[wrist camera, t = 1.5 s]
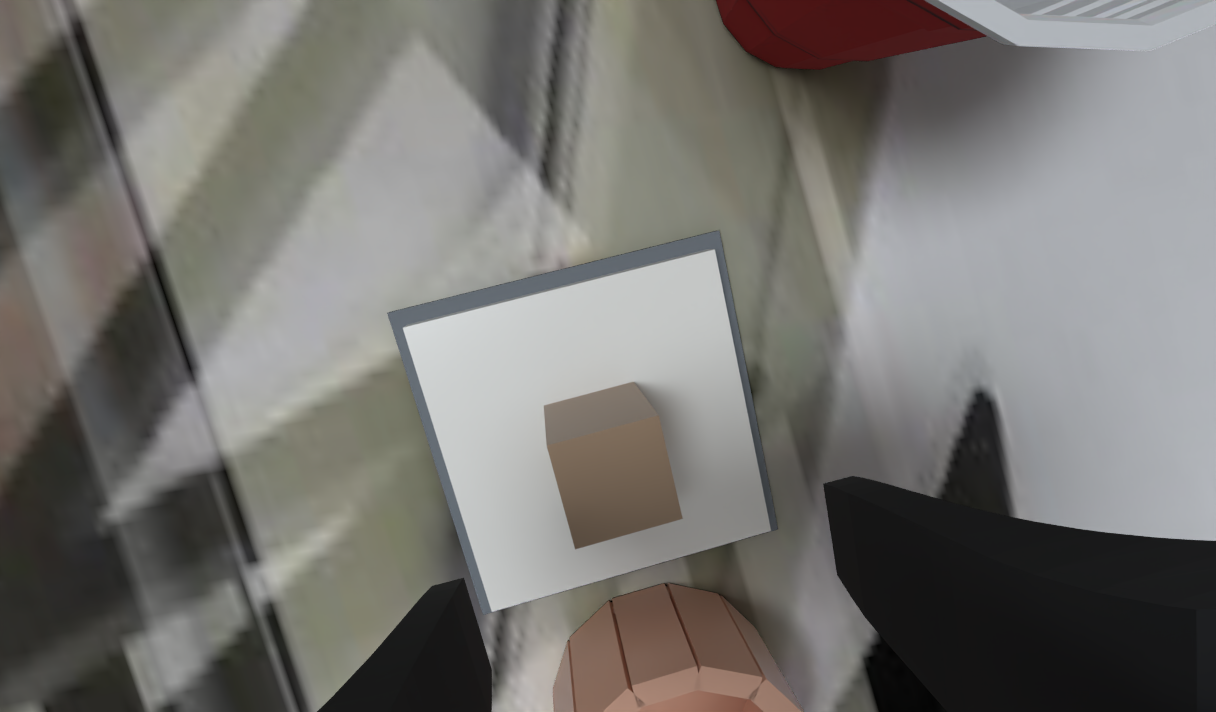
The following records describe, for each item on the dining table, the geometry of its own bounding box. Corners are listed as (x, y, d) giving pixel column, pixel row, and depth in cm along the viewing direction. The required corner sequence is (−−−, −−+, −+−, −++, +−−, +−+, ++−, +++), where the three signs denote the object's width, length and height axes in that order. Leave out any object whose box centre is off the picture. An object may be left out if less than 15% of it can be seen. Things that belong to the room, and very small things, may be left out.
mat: (483, 609, 22) (483, 614, 21) (389, 312, 19) (387, 313, 19) (774, 525, 22) (778, 529, 22) (716, 230, 20) (719, 230, 20)
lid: (493, 598, 21) (482, 698, 17) (407, 324, 19) (367, 349, 15) (762, 520, 22) (825, 595, 17) (707, 249, 20) (761, 250, 15)
